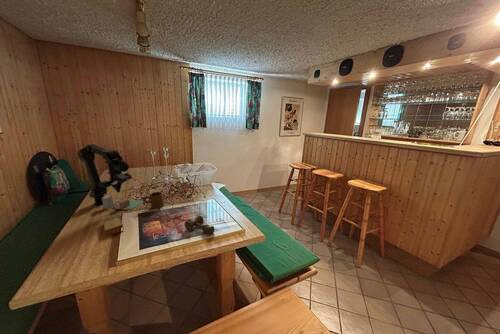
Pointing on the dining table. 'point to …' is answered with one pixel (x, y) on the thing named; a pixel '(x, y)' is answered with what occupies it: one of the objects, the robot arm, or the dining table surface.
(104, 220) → the carton
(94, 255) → the dining table surface
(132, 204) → the felt mat
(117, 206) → the walnut block
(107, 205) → the grey block
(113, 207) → the batten
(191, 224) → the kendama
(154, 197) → the mug
